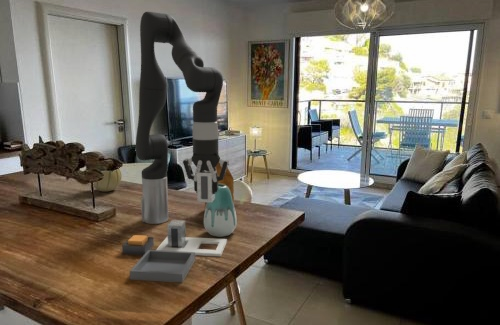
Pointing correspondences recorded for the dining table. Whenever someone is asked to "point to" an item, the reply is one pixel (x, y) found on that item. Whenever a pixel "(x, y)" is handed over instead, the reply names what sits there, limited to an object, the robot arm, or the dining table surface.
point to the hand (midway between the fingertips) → (206, 192)
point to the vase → (220, 213)
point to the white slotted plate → (197, 246)
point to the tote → (163, 266)
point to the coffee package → (226, 180)
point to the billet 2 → (205, 187)
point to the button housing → (138, 247)
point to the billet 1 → (176, 234)
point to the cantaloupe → (109, 181)
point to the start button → (138, 240)
